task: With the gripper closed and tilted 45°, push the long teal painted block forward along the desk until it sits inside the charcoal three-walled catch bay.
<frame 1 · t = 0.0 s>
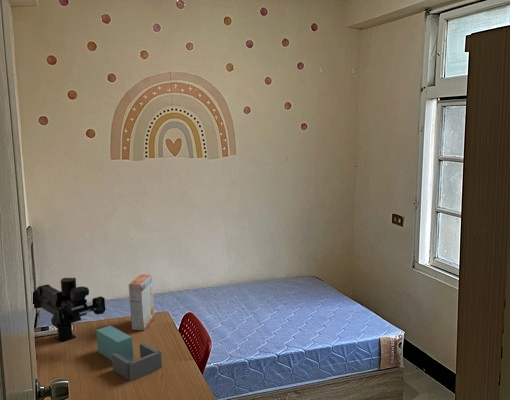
hand: (92, 315, 188), 17 cm above the table, tool horizontal, fingers open, 9 cm apart
cracker box: (143, 324, 221), on the table
catch bay: (136, 368, 181), on the table
teal block: (115, 355, 191), on the table
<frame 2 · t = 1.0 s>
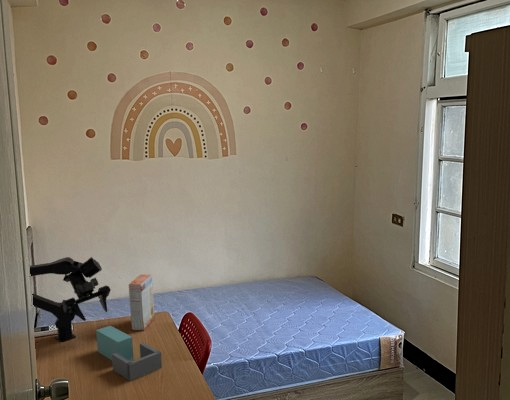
hand: (96, 316, 199), 12 cm above the table, tool tilted 45°, fingers open, 9 cm apart
nothing on the table moved.
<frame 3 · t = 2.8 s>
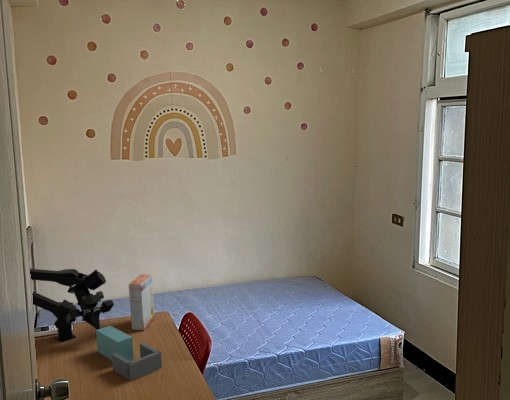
hand: (98, 329, 199), 7 cm above the table, tool tilted 45°, fingers closed
nothing on the table moved.
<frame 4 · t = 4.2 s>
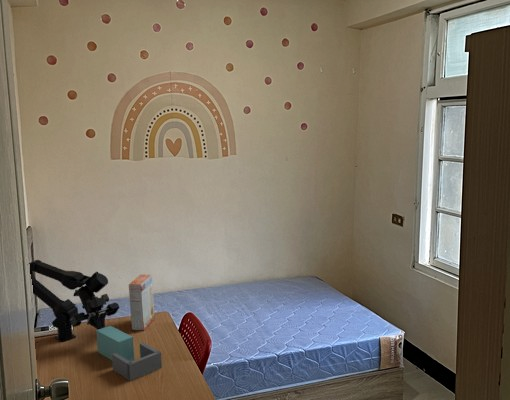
hand: (104, 332, 196), 7 cm above the table, tool tilted 45°, fingers closed, pressing on teal block
teal block: (115, 355, 191), on the table, touching gripper
everything else where it was.
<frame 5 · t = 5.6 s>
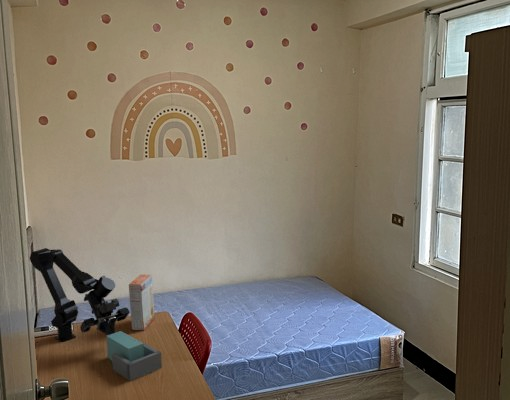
hand: (114, 338, 190), 7 cm above the table, tool tilted 45°, fingers closed, pressing on teal block
teal block: (125, 362, 185), on the table, touching gripper
everything else where it was.
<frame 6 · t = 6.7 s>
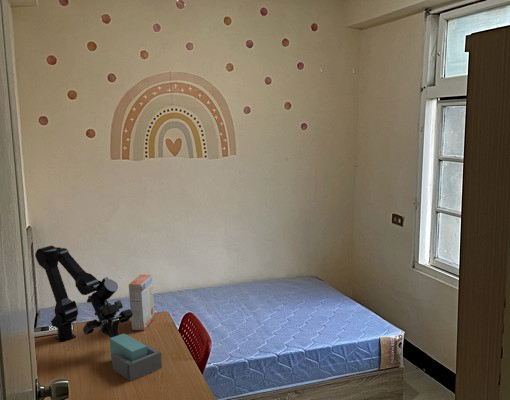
hand: (117, 340, 189), 7 cm above the table, tool tilted 45°, fingers closed
teal block: (129, 365, 184), on the table
everything else where it was.
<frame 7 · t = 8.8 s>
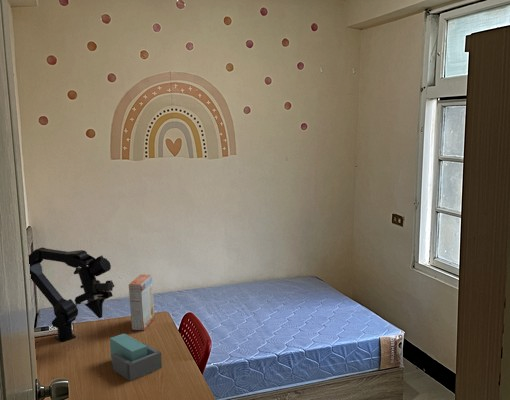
hand: (100, 317, 197), 12 cm above the table, tool tilted 30°, fingers closed
nothing on the table moved.
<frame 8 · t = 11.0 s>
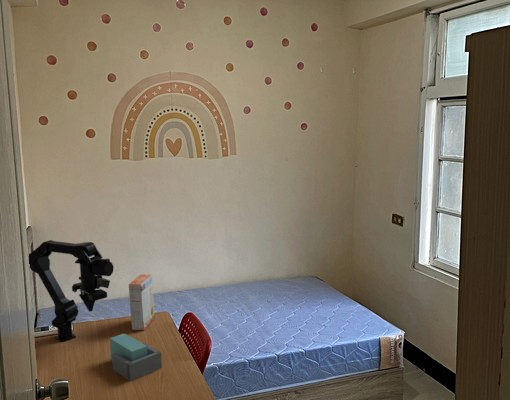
hand: (90, 311, 202), 13 cm above the table, tool pointing down, fingers closed
nothing on the table moved.
at the end: teal block inside the target area (1.4 cm from its centre), on the table; teal block tilted 0°; teal block moved 10.7 cm from its start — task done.
